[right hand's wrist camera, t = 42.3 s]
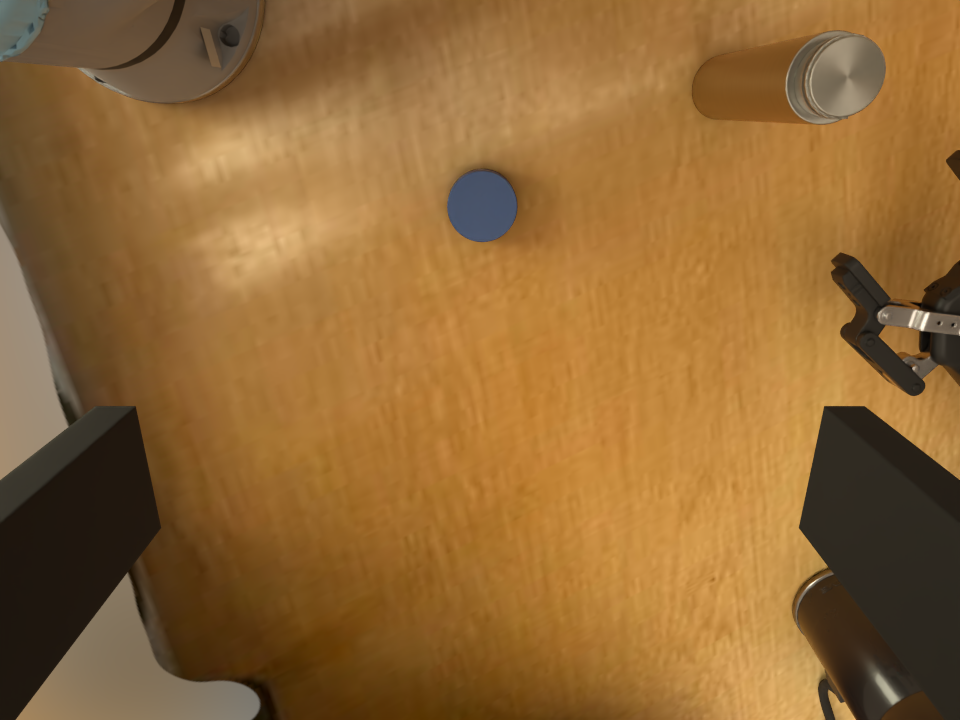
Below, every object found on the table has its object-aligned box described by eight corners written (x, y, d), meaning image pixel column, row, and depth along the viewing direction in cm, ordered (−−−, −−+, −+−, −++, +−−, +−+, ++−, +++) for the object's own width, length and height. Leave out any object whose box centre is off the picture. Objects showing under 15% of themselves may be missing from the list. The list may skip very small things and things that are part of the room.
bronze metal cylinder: (692, 57, 47) (805, 31, 31) (753, 51, 47) (900, 21, 31) (691, 122, 49) (798, 130, 32) (750, 116, 49) (888, 120, 32)
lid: (500, 247, 52) (500, 252, 50) (438, 222, 51) (437, 226, 50) (526, 184, 50) (528, 187, 48) (463, 157, 50) (462, 159, 48)
